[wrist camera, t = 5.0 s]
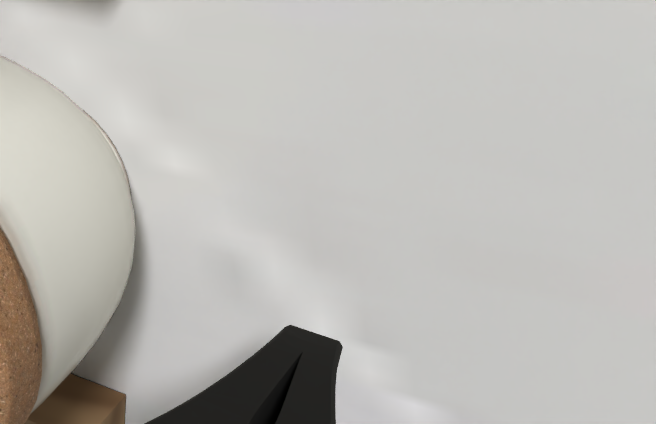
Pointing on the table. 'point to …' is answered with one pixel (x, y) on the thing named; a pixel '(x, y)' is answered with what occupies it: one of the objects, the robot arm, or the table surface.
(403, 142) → the table surface
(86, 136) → the lidded jar
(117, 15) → the table surface
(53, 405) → the yoke
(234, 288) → the table surface
